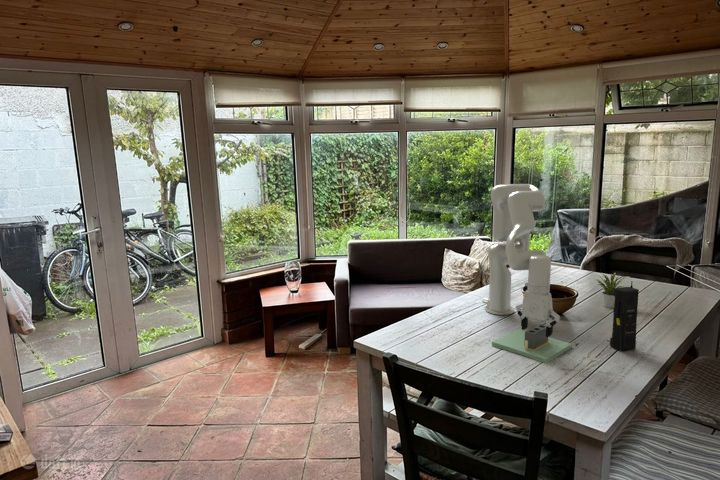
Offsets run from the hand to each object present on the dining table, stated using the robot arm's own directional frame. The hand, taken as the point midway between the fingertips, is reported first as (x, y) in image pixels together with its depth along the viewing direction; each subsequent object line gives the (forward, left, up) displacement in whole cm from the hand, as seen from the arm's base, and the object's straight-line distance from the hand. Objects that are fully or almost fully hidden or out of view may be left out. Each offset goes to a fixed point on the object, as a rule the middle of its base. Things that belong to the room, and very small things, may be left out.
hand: (536, 332), depth 179 cm
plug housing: (0, -1, -4) cm, 4 cm away
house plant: (0, +69, -6) cm, 69 cm away
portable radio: (+22, +22, -6) cm, 32 cm away
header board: (-2, 0, -6) cm, 6 cm away
